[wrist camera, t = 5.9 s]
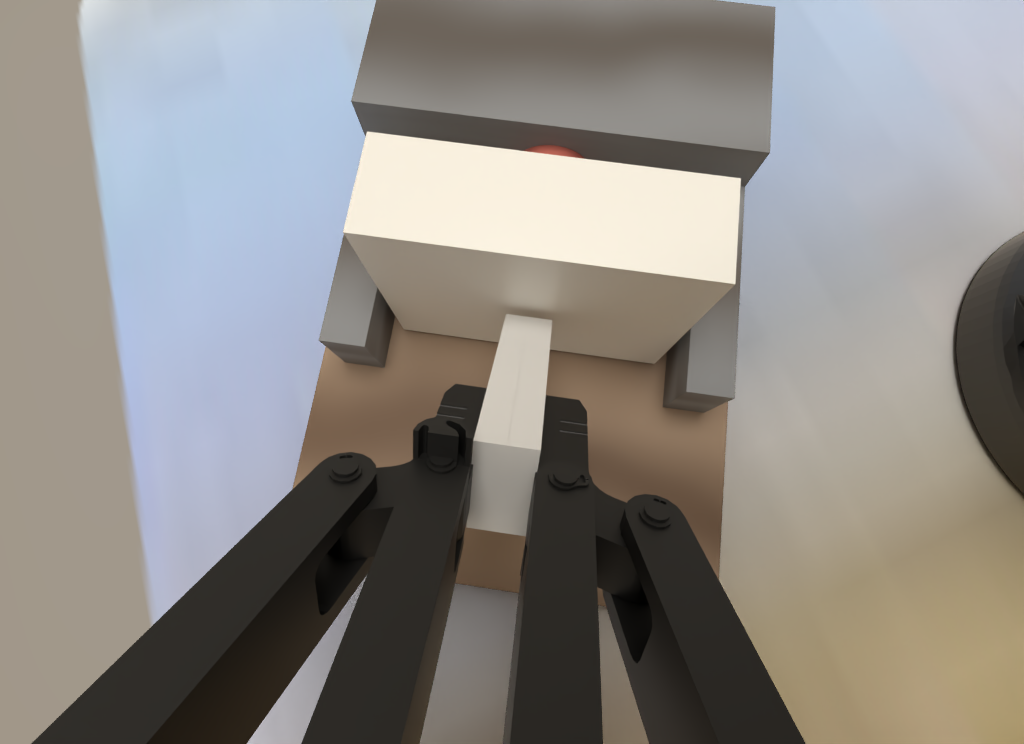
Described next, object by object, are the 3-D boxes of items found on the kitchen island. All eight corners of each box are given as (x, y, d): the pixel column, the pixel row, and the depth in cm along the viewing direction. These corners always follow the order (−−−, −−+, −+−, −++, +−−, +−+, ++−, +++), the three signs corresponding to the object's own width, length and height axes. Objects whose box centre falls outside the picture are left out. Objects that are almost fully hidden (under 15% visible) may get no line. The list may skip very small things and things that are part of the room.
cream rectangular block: (654, 364, 21) (735, 284, 14) (403, 329, 22) (343, 232, 14) (660, 292, 22) (740, 178, 14) (417, 260, 22) (367, 131, 15)
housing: (702, 615, 21) (784, 663, 14) (293, 552, 21) (200, 572, 15) (730, 121, 26) (800, -1, 20) (399, 81, 26) (364, -51, 20)
